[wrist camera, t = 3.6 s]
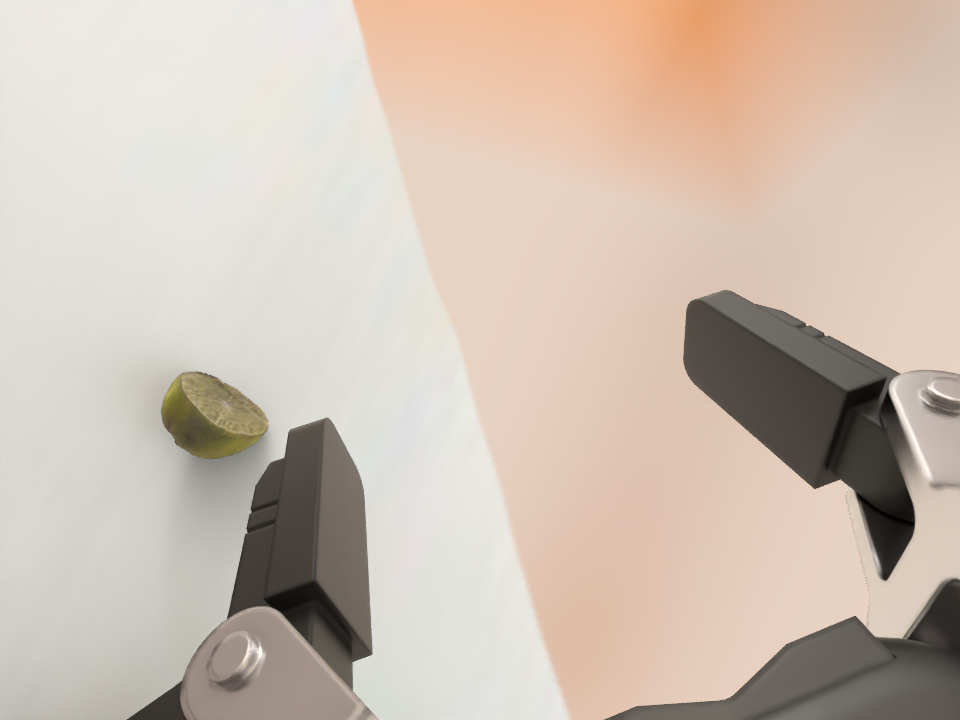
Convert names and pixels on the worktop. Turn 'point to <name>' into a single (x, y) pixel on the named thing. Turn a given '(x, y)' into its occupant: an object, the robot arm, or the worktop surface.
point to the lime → (211, 416)
